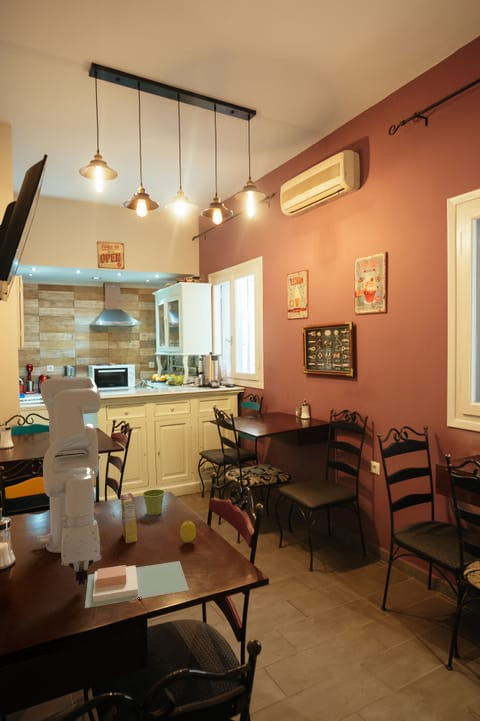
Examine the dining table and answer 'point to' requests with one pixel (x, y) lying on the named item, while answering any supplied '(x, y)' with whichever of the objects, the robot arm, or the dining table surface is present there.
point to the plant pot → (153, 501)
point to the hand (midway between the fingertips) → (81, 582)
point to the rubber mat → (147, 583)
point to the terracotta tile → (111, 576)
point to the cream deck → (117, 587)
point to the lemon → (188, 531)
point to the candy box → (129, 517)
